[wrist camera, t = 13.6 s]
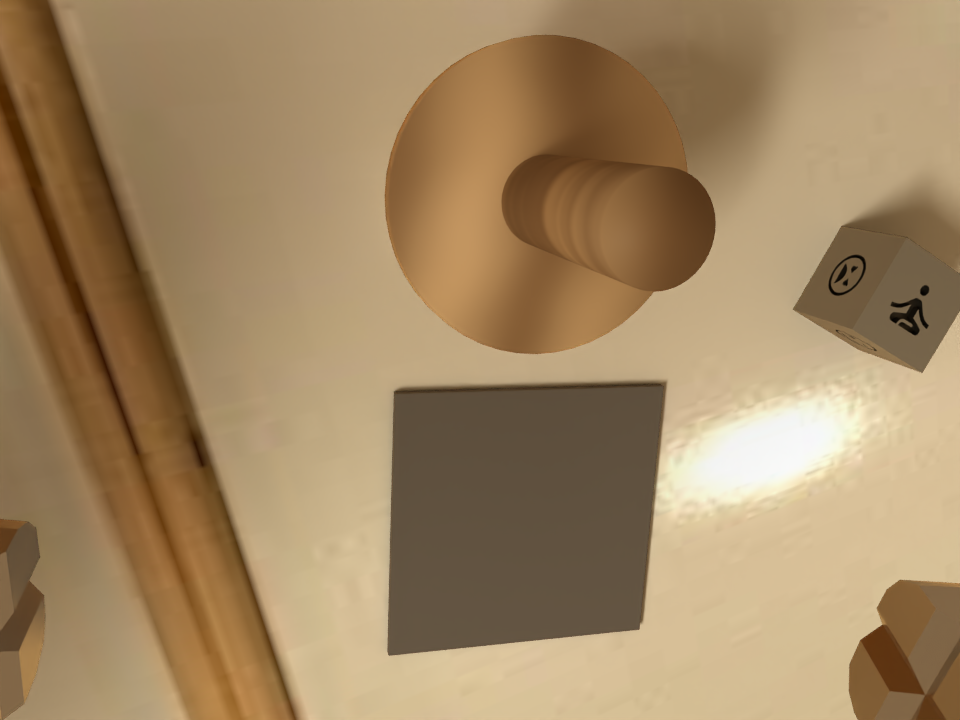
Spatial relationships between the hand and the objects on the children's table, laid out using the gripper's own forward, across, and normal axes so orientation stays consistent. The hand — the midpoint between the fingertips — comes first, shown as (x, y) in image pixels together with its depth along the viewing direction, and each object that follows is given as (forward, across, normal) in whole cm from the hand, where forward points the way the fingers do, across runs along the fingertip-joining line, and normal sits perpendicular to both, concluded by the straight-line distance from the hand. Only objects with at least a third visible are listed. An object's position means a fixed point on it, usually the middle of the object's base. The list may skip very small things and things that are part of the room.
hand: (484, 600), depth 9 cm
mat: (+30, -9, +23) cm, 39 cm away
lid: (+24, -5, +4) cm, 25 cm away
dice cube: (+36, -25, +11) cm, 45 cm away
